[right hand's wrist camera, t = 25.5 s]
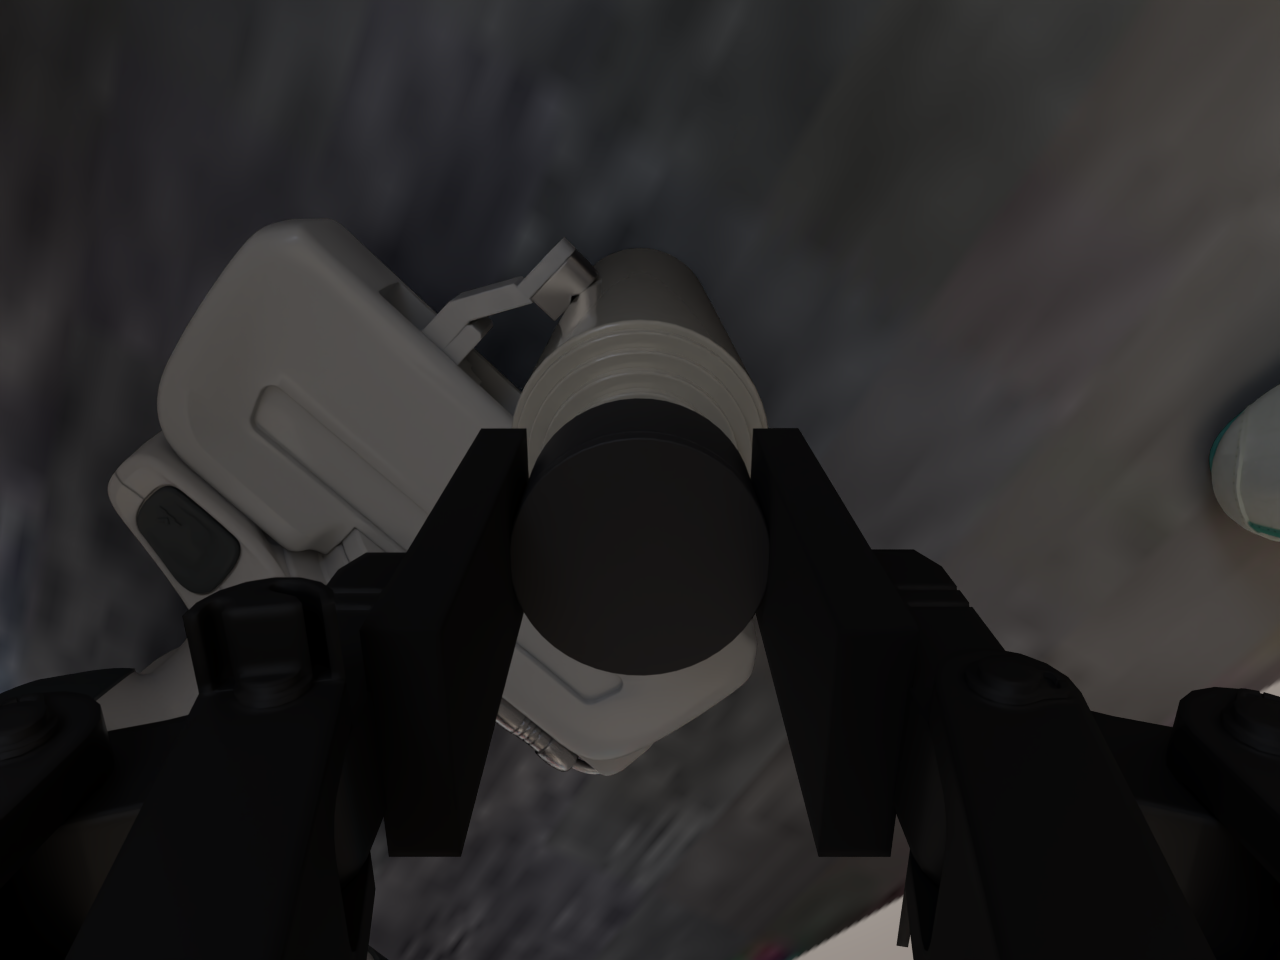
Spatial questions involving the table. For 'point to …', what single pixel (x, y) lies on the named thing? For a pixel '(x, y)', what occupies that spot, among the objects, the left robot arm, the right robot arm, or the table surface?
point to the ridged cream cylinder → (640, 353)
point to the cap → (639, 539)
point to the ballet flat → (1250, 467)
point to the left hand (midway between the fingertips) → (659, 334)
